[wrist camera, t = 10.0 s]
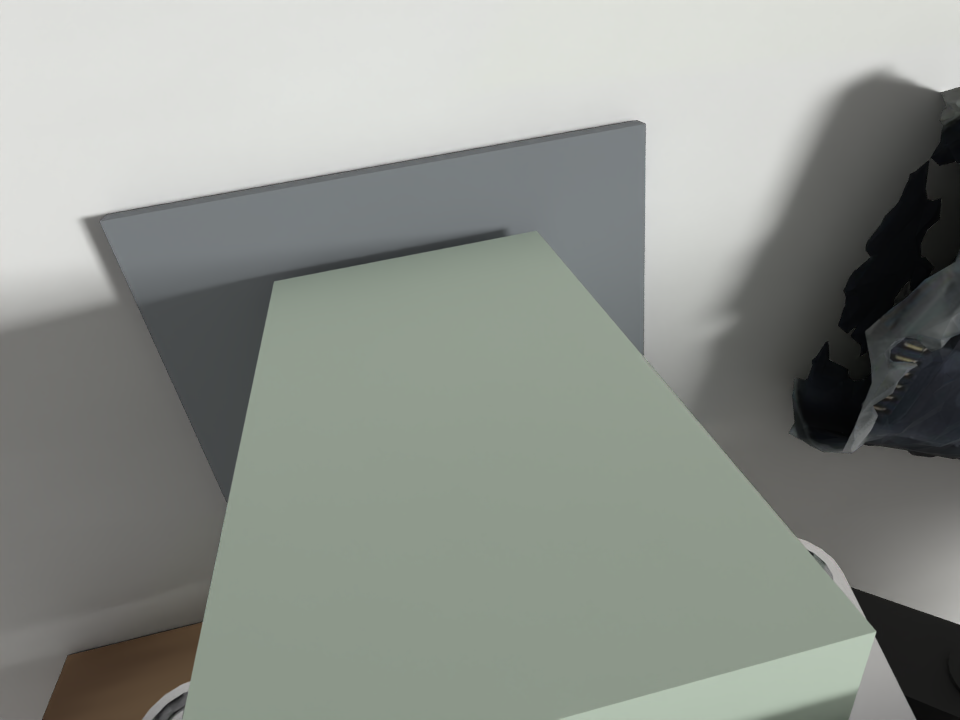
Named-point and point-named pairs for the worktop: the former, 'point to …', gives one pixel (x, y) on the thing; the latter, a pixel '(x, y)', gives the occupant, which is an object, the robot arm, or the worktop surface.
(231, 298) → the mat
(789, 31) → the worktop surface
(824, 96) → the worktop surface
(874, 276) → the dark blue pouch
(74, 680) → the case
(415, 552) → the module
